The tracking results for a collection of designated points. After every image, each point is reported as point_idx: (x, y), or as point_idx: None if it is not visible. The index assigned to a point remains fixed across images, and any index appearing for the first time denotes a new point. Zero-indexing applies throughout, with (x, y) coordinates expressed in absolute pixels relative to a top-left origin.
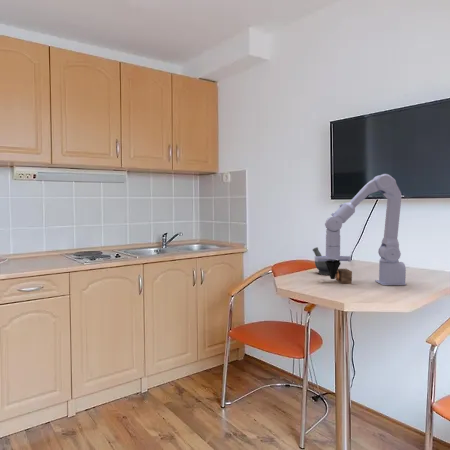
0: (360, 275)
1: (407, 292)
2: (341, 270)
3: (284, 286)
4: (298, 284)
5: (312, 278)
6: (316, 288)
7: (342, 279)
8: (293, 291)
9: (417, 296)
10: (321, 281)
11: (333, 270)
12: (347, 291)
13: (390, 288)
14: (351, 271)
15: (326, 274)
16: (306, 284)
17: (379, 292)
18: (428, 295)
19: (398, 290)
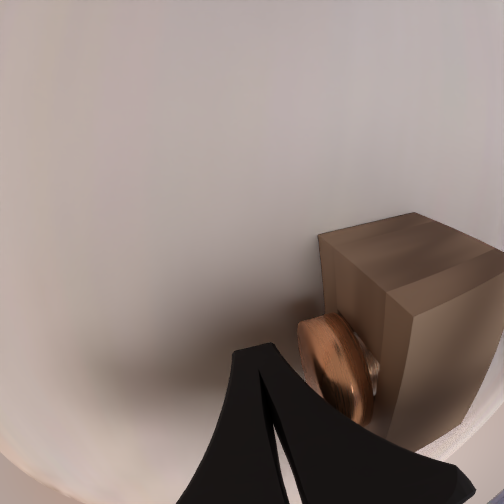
0: (496, 7)
1: (489, 403)
2: (398, 436)
3: (5, 448)
4: (24, 427)
5: (18, 172)
6: (147, 487)
7: None
8: (80, 500)
9: (473, 430)
10: (129, 333)
11: (291, 468)
12: (298, 491)
13: (492, 374)
14: (456, 426)
15: None
16: (60, 431)
17: (416, 451)
18: (500, 405)
19: (489, 391)
